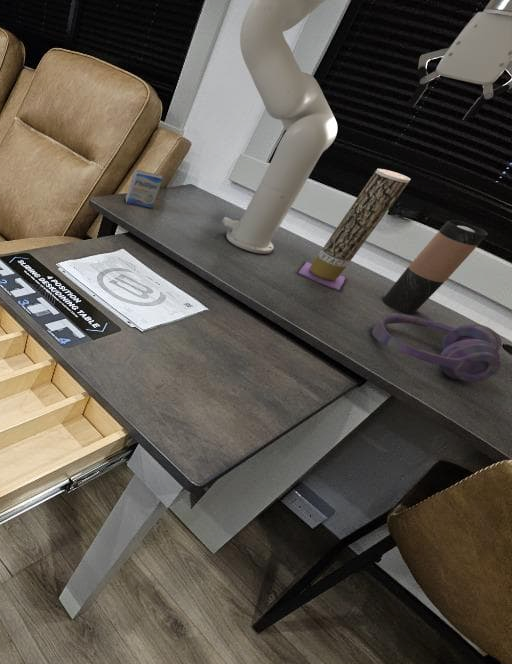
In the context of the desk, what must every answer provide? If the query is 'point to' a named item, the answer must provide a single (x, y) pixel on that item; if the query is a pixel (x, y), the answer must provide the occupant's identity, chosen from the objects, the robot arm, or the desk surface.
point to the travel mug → (434, 265)
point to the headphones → (450, 347)
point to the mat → (333, 284)
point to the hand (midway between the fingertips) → (437, 113)
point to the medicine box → (143, 188)
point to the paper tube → (359, 223)
